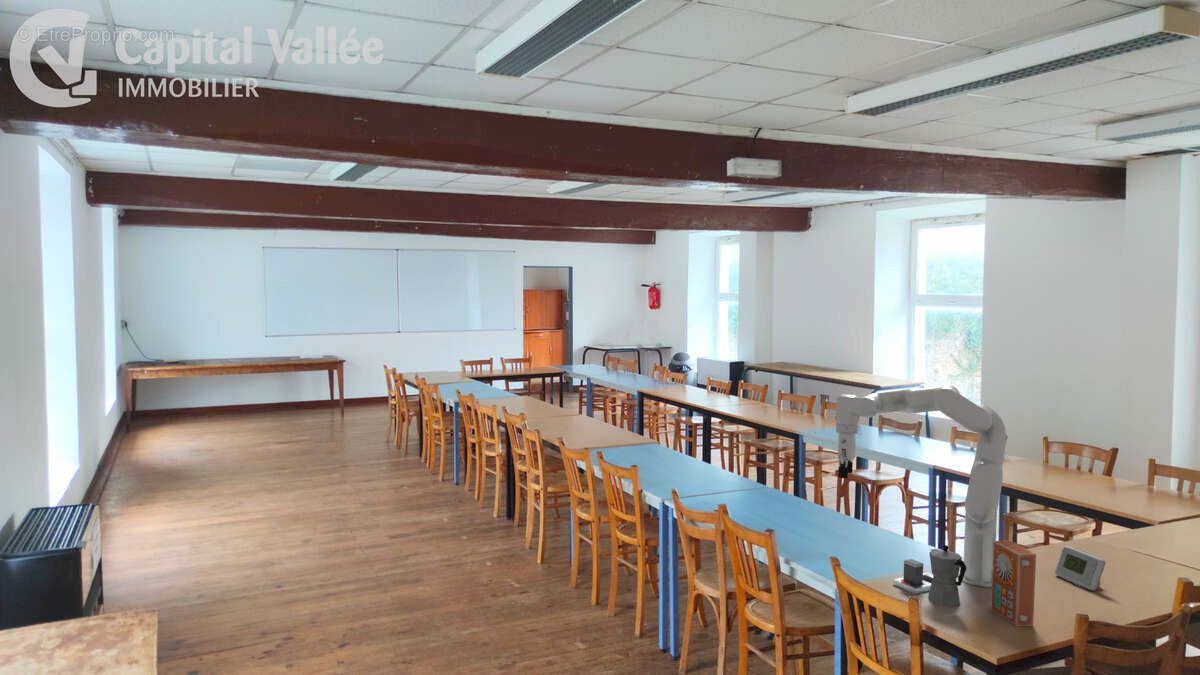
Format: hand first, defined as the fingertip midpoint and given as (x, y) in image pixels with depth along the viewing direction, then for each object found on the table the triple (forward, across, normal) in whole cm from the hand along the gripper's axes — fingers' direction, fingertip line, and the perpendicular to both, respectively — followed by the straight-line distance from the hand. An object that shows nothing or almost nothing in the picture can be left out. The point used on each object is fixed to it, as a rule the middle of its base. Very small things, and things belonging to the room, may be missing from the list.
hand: (845, 475), depth 278 cm
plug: (+31, -19, -26) cm, 44 cm away
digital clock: (+31, +14, -75) cm, 82 cm away
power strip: (+31, -16, -28) cm, 44 cm away
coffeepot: (+31, -27, -36) cm, 55 cm away
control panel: (+31, -29, -54) cm, 69 cm away
